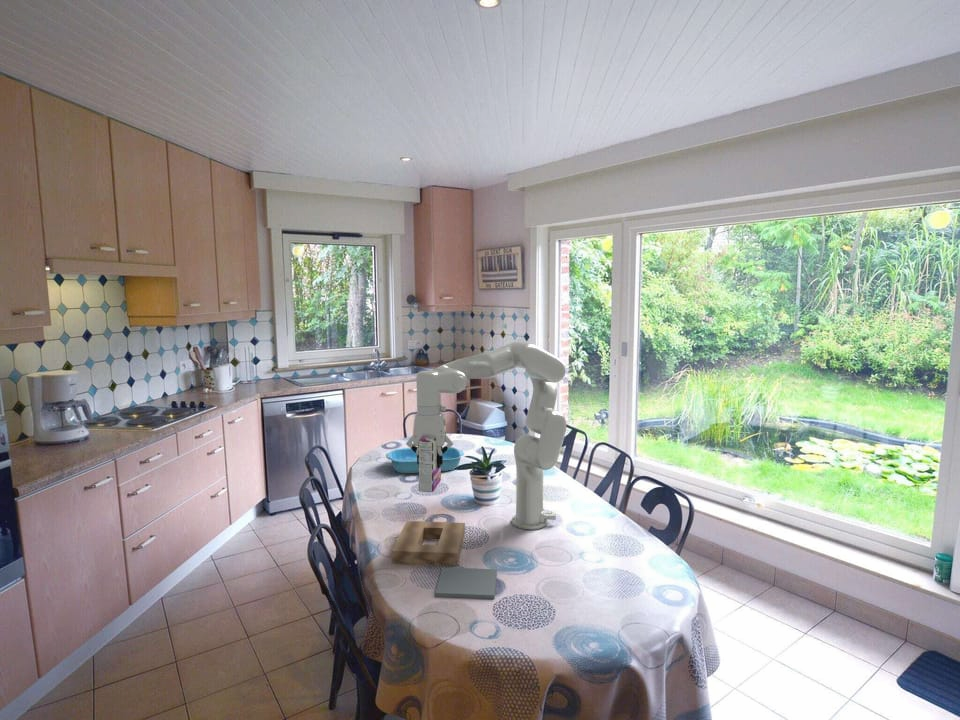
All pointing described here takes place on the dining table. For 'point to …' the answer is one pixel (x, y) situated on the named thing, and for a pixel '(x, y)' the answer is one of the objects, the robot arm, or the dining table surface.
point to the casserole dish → (407, 460)
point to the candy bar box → (428, 465)
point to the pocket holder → (414, 552)
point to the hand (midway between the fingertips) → (430, 465)
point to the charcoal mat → (467, 583)
